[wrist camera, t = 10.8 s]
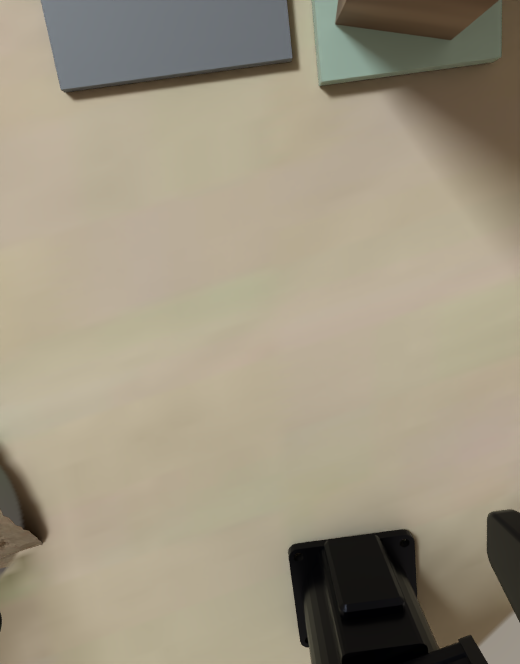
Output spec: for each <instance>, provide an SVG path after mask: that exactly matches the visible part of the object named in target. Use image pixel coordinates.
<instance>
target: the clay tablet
mask: <svg viewBox="0 0 520 664" xmlns="http://www.w3.org/2000/svg"><path fill="white" fill-rule="evenodd" d="M37 539H38V538H37V537H36V536H34V535H33V534H31V533H30V531H27V530H23V529H22V527H21V526H16V525H15V524H14V523H13V521H11V520H10V518H8V517H5V516H3V515H2V511H1V510H0V568H5V567H9V565H10V564H11V563H12V561H13V560H14V558H15V556H16V554H17V553H18V552H19V551H22V550H25V549H28V548H31V547H35V546H38V545H42V544H41V541H40V540H37Z"/></svg>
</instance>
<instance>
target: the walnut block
mask: <svg viewBox="0 0 520 664" xmlns="http://www.w3.org/2000/svg"><path fill="white" fill-rule="evenodd" d="M497 1H499V0H338V4H337V12H336V20H335V25H343V26H350V27H357V28H365V29H372V30H379V31H387V32H394V33H401V34H409V35H416V36H423V37H431V38H438V39H445V40H452V39H453V38H454V37H456V36H457V35H458V34H459V33H460V32H462V31H463V30H464V29H465V28H466V27H468V26H469V25H470V24H471V23H472V22H474V21H475V20H476V19H477V18H478V17H480V16H481V15H482V14H483V13H484V12H485V11H487V10H488V9H489V8H490V7H491V6H493V5H494V4H495V3H496V2H497Z"/></svg>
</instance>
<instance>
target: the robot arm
mask: <svg viewBox="0 0 520 664" xmlns="http://www.w3.org/2000/svg"><path fill="white" fill-rule="evenodd" d="M403 539H406V540H405V541H403V542H400V541H401V540H403ZM297 553H301V555H299V556H296V555H295V554H297ZM487 554H488V558H489V561H490V564H491V566H492V568H493V570H494V572H495V574H496V576H497V578H498V580H499V582H500V584H501V586H502V588H503V590H504V592H505V594H506V596H507V598H508V600H509V602H510V604H511V606H512V608H513V610H514V612H515V614H516V616H517V618H518V620H519V622H520V513H519V512H517V511H515V510H510V509H509V510H501V511H493V512H491V513H489V514H488V517H487ZM288 555H289V563H290V570H291V577H292V585H293V592H294V599H295V606H296V614H297V621H298V628H299V636H300V642H301V644H302V645H303V646H304V647H309V649H310V656H311V663H312V664H488V663H487V661H486V660H485V658H484V656H483V654H482V653H481V651H480V649H479V648H478V646H477V644H476V643H475V641H474V639H473V638H472V636H471V635H469V636H466V637H463V638H460V639H458V640H459V642H458V643H455V644H452V645H449V646H446V647H444V648H441V649H439V647H438V645H437V643H436V640H435V638H434V636H433V634H432V631H431V629H430V627H429V625H428V622H427V620H426V618H425V616H424V613H423V611H422V609H421V607H420V604H419V602H418V600H417V586H416V565H415V544H414V539H413V537H412V535H411V533H410V532H409V531H407V530H395V531H387V532H380V533H372V534H365V535H357V536H350V537H342V538H335V539H327V540H320V541H313V542H305V543H298V544H294V545H292V546H291V547H290V548H289V550H288ZM1 626H2V617H1V613H0V631H1Z"/></svg>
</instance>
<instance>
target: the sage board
mask: <svg viewBox="0 0 520 664" xmlns="http://www.w3.org/2000/svg"><path fill="white" fill-rule="evenodd" d="M337 4H338V0H312V11H313V22H314V34H315V45H316V57H317V68H318V80H319V86H323V85H330V84H337V83H345V82H352V81H359V80H367V79H374V78H381V77H388V76H396V75H403V74H410V73H418V72H425V71H432V70H440V69H447V68H454V67H462V66H469V65H476V64H484V63H491V62H494V61H496V60H498V59H499V58H501V53H502V0H499V1H497V2H496V3H495V4H494V5H493V6H491V7H490V8H489V9H488V10H487V11H485V12H484V13H483V14H482V15H481V16H480V17H478V18H477V19H476V20H475V21H474V22H472V23H471V24H470V25H469V26H468V27H466V28H465V29H464V30H463V31H462V32H460V33H459V34H458V35H457V36H456V37H454V38H453V39H452V40H445V39H438V38H431V37H423V36H416V35H409V34H401V33H394V32H387V31H379V30H372V29H365V28H357V27H350V26H343V25H335V20H336V12H337Z"/></svg>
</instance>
